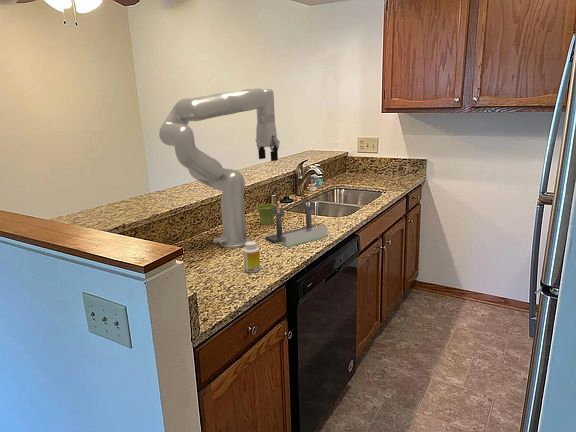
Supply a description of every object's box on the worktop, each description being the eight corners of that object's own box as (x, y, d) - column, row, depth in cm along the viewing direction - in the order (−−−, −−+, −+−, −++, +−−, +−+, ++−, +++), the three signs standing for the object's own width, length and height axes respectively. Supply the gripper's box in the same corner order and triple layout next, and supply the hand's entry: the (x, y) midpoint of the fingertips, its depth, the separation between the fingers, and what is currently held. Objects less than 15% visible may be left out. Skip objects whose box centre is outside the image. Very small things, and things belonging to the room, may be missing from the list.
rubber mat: (287, 247, 180) (287, 246, 180) (280, 244, 185) (280, 243, 185) (327, 236, 192) (327, 235, 192) (319, 234, 196) (319, 232, 196)
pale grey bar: (286, 245, 181) (285, 237, 180) (281, 243, 184) (280, 235, 183) (327, 234, 193) (327, 226, 192) (322, 232, 196) (322, 225, 195)
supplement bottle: (263, 269, 158) (262, 242, 156) (252, 274, 155) (250, 246, 152) (253, 266, 162) (251, 239, 160) (241, 270, 158) (239, 243, 156)
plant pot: (273, 226, 211) (272, 208, 209) (254, 225, 214) (253, 208, 212) (279, 221, 220) (278, 204, 217) (262, 220, 223) (261, 203, 220)
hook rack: (274, 244, 186) (272, 210, 182) (265, 240, 191) (263, 207, 187) (322, 231, 200) (321, 200, 196) (312, 228, 205) (312, 197, 202)
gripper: (248, 119, 193) (250, 159, 197) (269, 120, 179) (271, 162, 184) (262, 118, 197) (264, 157, 201) (284, 119, 183) (286, 160, 188)
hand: (268, 159), depth 192 cm, fingers open, 9 cm apart
